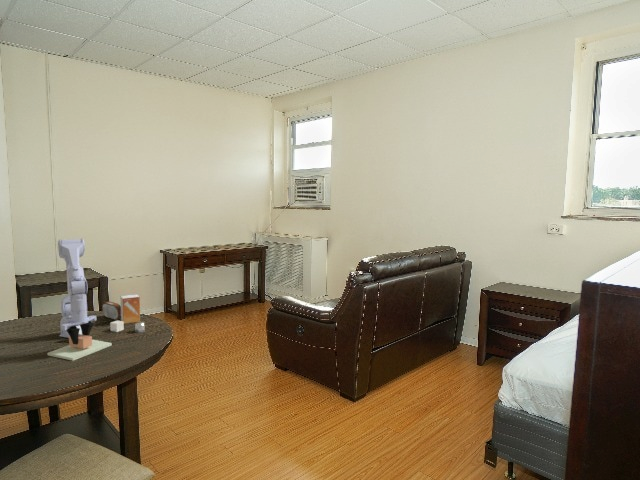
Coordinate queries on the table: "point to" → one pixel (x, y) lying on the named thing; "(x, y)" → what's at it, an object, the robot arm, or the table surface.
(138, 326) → the light grey cylinder
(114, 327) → the off-white cube
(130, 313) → the small box
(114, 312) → the tin
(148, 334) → the table surface
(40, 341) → the table surface
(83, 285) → the robot arm
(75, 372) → the table surface
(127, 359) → the table surface
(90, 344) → the terracotta brick
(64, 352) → the board
